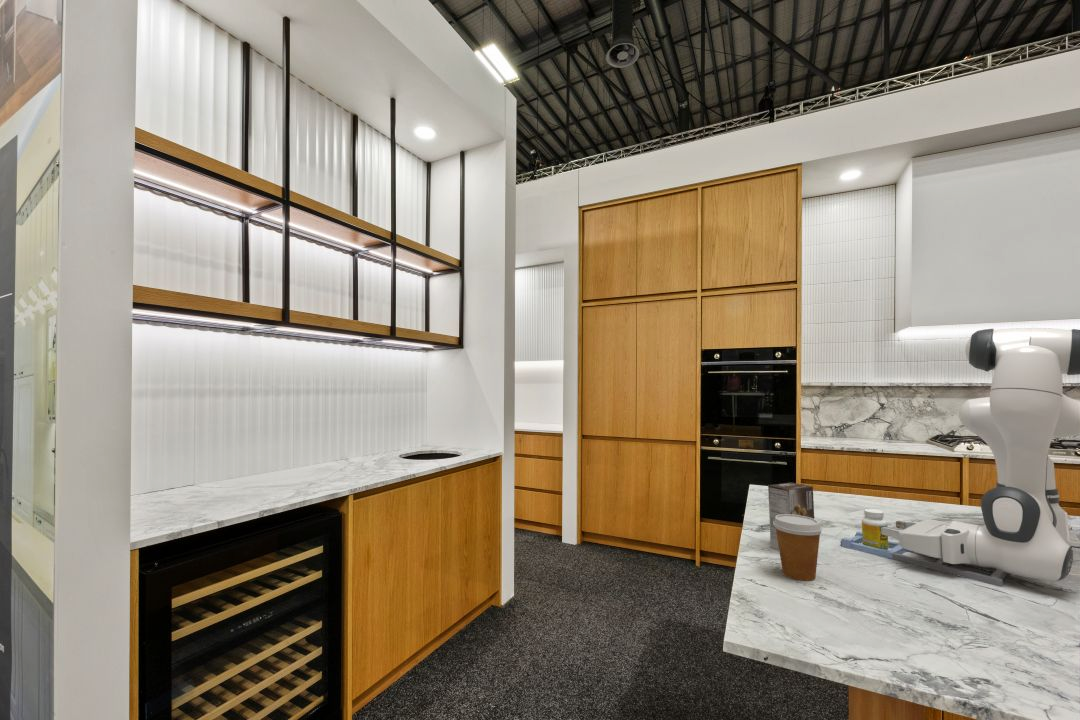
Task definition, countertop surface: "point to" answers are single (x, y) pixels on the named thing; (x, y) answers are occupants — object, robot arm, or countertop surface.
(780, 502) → the coffee box
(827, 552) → the countertop surface
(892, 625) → the countertop surface
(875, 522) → the supplement bottle
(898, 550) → the blue ladder rack
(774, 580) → the countertop surface
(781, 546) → the disposable coffee cup
